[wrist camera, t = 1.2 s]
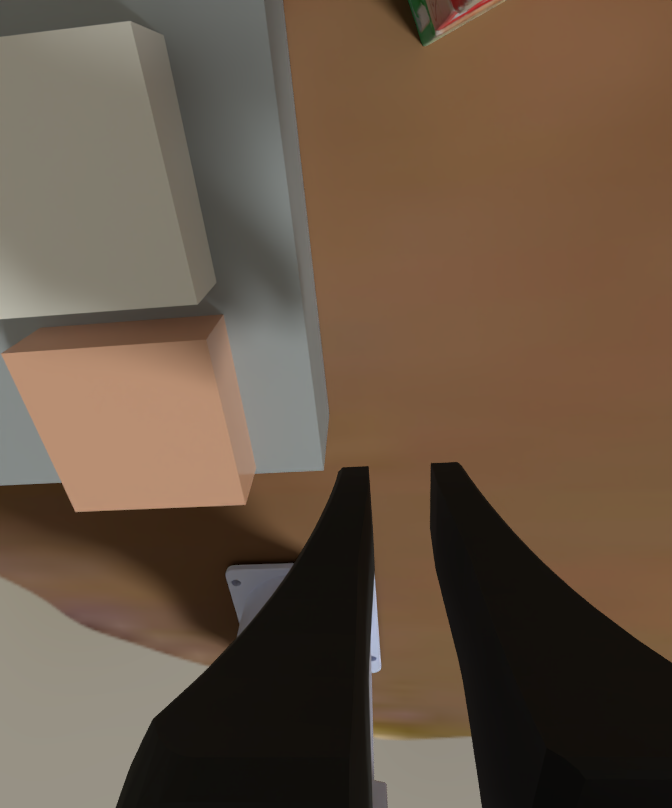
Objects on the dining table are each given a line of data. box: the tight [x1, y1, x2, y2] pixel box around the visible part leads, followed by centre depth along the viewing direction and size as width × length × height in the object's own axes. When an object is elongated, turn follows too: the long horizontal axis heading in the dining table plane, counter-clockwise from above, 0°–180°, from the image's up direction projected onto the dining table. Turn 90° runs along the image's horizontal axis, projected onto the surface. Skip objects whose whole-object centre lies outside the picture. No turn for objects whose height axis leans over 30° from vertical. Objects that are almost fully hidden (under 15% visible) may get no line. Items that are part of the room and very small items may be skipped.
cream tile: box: [0, 21, 217, 319], centre depth 13 cm, size 6×6×2 cm
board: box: [0, 0, 329, 485], centre depth 17 cm, size 14×15×4 cm
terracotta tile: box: [1, 314, 256, 512], centre depth 16 cm, size 6×6×2 cm
